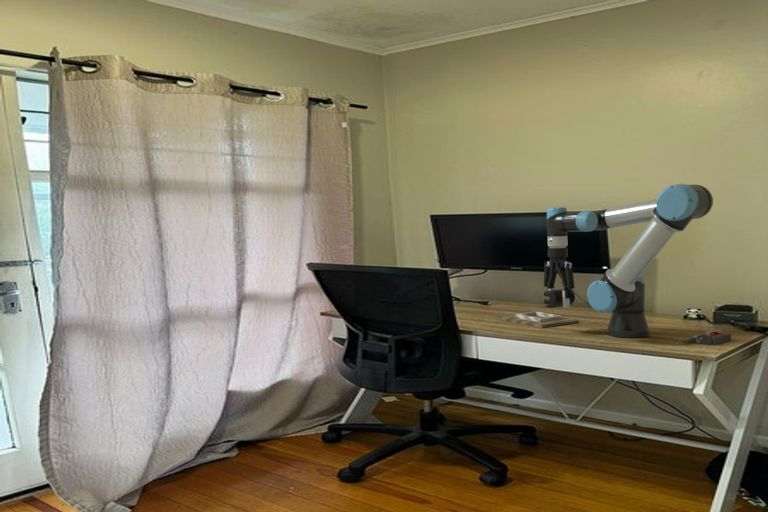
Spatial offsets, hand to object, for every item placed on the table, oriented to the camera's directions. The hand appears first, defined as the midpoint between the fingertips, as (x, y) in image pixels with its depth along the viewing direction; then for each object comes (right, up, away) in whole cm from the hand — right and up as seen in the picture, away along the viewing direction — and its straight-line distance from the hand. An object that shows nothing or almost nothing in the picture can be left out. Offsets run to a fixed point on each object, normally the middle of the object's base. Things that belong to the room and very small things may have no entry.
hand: (559, 305), depth 255 cm
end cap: (0, -1, 0) cm, 1 cm away
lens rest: (-1, -9, +29) cm, 31 cm away
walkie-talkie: (+45, -11, -25) cm, 53 cm away
